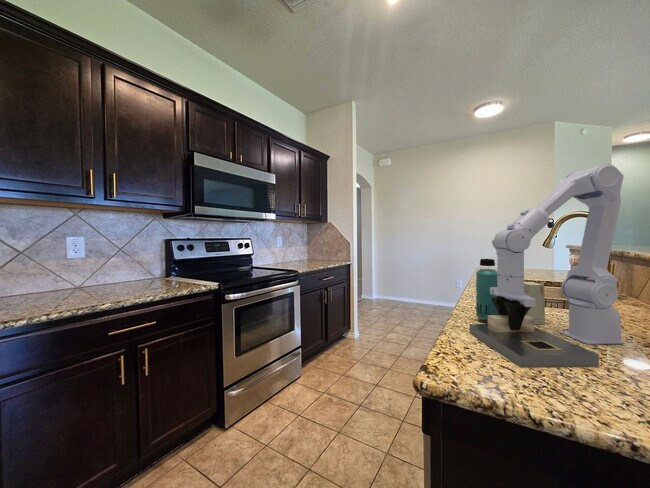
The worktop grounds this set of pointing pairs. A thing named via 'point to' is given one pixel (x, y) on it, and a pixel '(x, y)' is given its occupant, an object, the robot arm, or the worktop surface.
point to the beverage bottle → (485, 289)
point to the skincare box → (536, 301)
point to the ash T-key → (502, 324)
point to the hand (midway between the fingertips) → (510, 327)
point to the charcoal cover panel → (535, 348)
